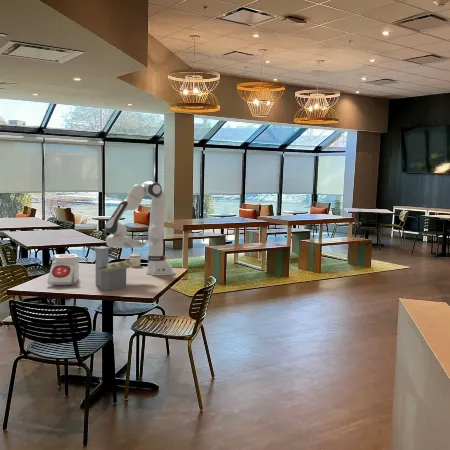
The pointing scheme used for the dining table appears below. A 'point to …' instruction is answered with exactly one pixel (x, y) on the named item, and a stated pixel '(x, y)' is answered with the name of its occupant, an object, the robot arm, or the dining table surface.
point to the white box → (64, 269)
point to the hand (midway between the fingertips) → (141, 242)
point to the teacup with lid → (135, 259)
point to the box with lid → (113, 277)
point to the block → (120, 263)
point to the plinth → (101, 261)
